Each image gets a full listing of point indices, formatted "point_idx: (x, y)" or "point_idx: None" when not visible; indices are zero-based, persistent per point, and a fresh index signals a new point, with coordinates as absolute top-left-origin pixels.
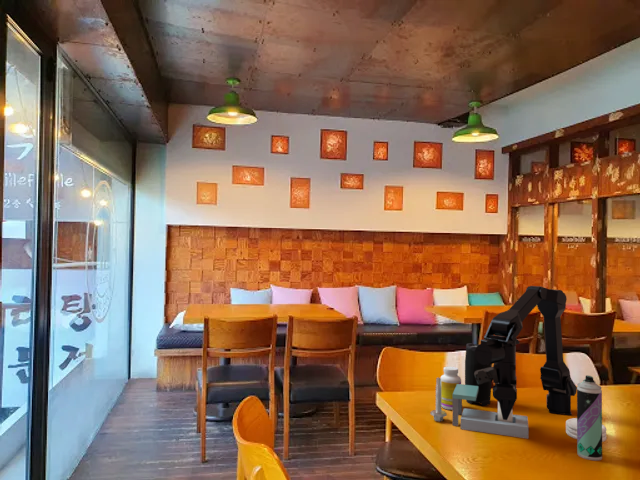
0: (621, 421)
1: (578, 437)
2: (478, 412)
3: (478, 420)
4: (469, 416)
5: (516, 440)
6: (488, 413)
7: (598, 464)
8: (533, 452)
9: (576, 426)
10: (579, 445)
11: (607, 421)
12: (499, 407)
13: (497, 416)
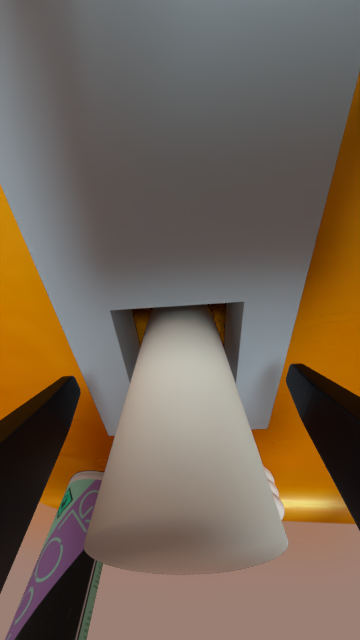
0: (346, 515)
1: (56, 533)
2: (256, 143)
3: (17, 185)
4: (60, 36)
5: (76, 368)
6: (254, 249)
7: (60, 488)
8: (10, 409)
9: None
10: (65, 505)
11: (343, 504)
12: (133, 399)
13: (240, 308)
